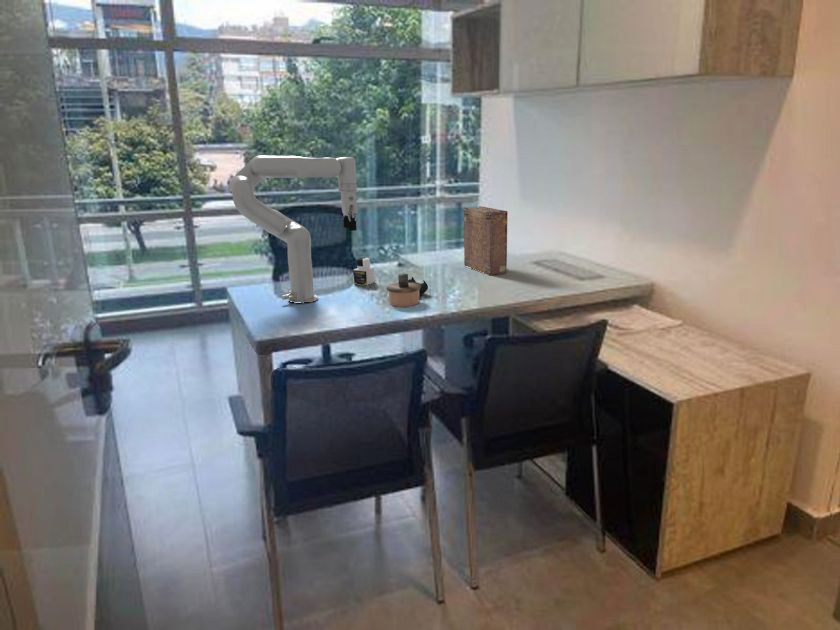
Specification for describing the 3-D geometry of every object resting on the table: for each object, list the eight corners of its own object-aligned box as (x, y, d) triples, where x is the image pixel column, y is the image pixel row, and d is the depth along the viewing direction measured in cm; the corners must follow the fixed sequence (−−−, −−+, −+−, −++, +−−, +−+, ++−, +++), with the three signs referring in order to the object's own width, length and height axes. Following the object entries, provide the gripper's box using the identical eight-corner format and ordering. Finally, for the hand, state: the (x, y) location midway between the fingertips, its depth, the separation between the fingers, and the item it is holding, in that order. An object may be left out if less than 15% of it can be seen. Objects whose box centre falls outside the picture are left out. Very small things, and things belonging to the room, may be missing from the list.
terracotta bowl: (405, 308, 248) (404, 293, 246) (383, 303, 256) (383, 289, 254) (425, 301, 257) (424, 287, 255) (403, 297, 264) (403, 283, 263)
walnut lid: (404, 294, 245) (404, 280, 243) (379, 289, 254) (378, 275, 252) (427, 287, 255) (427, 273, 253) (402, 282, 264) (402, 269, 262)
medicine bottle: (353, 284, 289) (352, 259, 286) (362, 281, 295) (360, 256, 292) (366, 285, 286) (365, 260, 282) (375, 282, 292) (373, 257, 288)
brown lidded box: (464, 266, 320) (463, 207, 312) (479, 264, 324) (479, 206, 316) (490, 275, 298) (490, 212, 290) (506, 273, 302) (507, 211, 294)
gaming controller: (417, 304, 262) (434, 289, 265) (411, 294, 259) (427, 279, 262) (396, 296, 276) (412, 282, 279) (390, 287, 273) (406, 272, 276)
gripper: (361, 188, 253) (363, 231, 258) (351, 185, 269) (354, 225, 274) (343, 190, 251) (345, 232, 256) (334, 186, 266) (337, 226, 271)
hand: (350, 228), depth 265 cm, fingers open, 9 cm apart
